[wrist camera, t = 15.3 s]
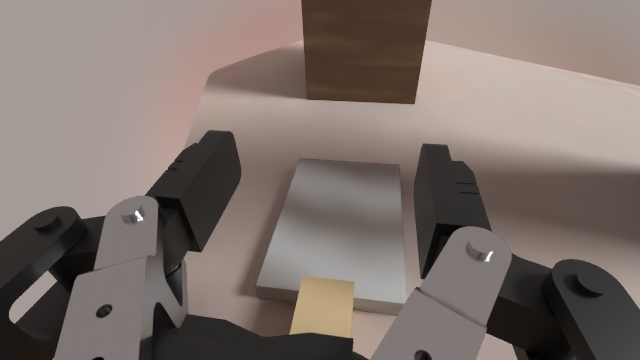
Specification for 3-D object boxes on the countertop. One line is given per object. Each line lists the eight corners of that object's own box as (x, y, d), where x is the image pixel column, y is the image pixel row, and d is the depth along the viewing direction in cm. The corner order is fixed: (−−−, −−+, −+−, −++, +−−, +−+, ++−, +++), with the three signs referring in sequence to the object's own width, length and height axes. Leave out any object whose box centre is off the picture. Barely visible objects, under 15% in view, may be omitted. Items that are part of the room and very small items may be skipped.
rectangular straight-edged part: (300, 170, 28) (298, 143, 26) (397, 176, 27) (401, 150, 25) (169, 568, 11) (140, 565, 9) (418, 632, 10) (434, 641, 8)
